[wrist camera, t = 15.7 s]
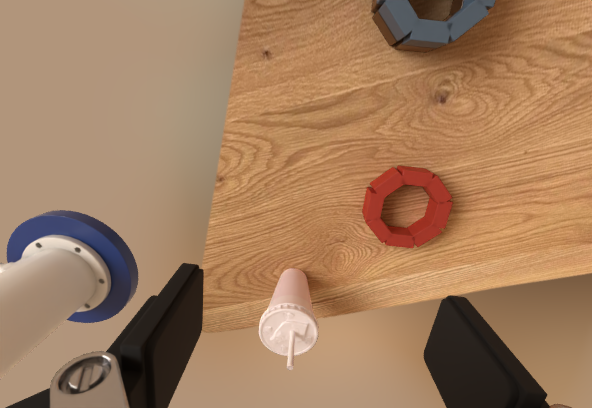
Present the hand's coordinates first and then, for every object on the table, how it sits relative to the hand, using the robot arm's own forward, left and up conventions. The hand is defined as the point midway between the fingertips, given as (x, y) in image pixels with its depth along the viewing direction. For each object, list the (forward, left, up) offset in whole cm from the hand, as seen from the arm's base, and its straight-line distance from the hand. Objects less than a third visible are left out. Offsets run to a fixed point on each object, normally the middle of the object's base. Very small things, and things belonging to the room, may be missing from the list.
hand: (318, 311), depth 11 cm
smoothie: (-1, -15, -25) cm, 29 cm away
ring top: (+11, -3, -24) cm, 27 cm away
